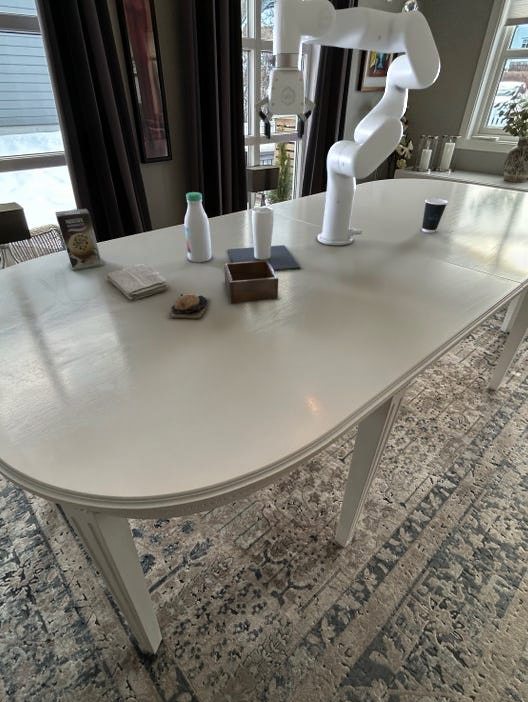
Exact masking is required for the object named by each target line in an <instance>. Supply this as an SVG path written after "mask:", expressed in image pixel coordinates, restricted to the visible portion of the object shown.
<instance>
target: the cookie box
mask: <svg viewBox="0 0 528 702" xmlns="http://www.w3.org/2000/svg"><path fill="white" fill-rule="evenodd" d="M54 214H55V217H56V220H57V225H58V228H59V230H60V234H61V237H62V240H63V244H64V247H65V250H66V255H67V257H68V259H69V263H70V267H71V270H72V271H76V270H83V269H89V268H93V267H98V266H103V262H102V258H101V255H100V250H99V246H98V243H97V239H96V234H95V230H94V226H93V222H92V219H91V214H90V212H89V210H88V209H87V208H79V209H70V210H62V211H61V210H60V211H55V212H54Z"/></svg>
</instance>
